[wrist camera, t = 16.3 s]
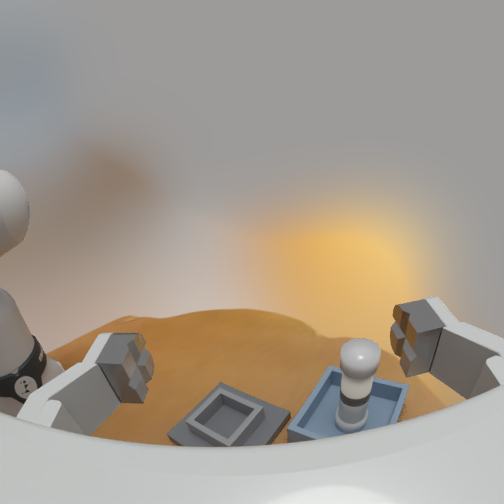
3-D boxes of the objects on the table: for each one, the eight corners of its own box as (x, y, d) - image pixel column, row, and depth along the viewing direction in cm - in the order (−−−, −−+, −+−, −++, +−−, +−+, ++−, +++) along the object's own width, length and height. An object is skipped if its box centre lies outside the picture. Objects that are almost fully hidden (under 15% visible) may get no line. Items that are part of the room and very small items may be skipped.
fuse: (329, 428, 34) (334, 359, 29) (342, 405, 37) (349, 334, 32) (359, 437, 32) (373, 369, 26) (370, 413, 35) (385, 343, 29)
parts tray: (288, 443, 34) (287, 428, 32) (328, 383, 42) (329, 365, 41) (375, 473, 27) (381, 459, 25) (403, 403, 36) (409, 385, 34)
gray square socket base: (170, 439, 36) (160, 423, 34) (222, 388, 44) (217, 370, 43) (239, 482, 29) (233, 470, 27) (290, 417, 38) (289, 400, 36)
